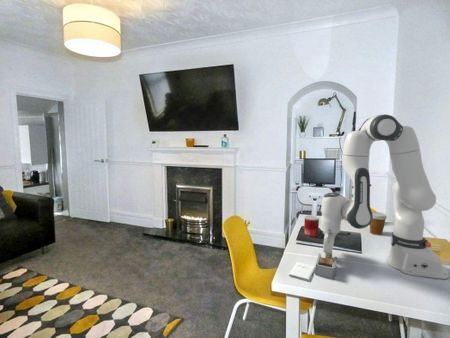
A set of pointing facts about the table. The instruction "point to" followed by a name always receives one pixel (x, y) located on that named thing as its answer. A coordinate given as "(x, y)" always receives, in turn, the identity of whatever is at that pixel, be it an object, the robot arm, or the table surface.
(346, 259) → the table surface
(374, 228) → the disposable coffee cup
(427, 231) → the table surface
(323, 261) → the towed block
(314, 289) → the table surface
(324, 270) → the lane
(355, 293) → the table surface
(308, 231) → the canned food
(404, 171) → the robot arm
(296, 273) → the external hard drive
